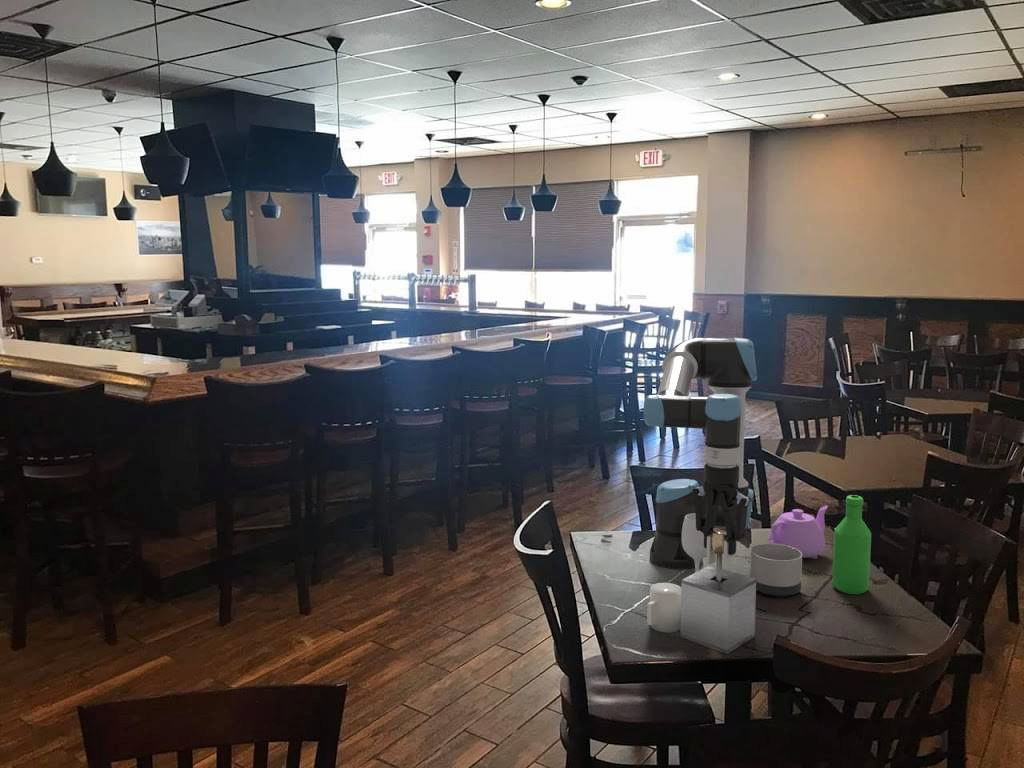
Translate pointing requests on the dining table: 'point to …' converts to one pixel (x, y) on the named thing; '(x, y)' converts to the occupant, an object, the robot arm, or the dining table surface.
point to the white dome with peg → (664, 607)
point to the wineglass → (693, 540)
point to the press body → (718, 609)
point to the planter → (776, 569)
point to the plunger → (718, 550)
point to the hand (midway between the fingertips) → (719, 564)
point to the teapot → (800, 532)
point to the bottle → (852, 550)
